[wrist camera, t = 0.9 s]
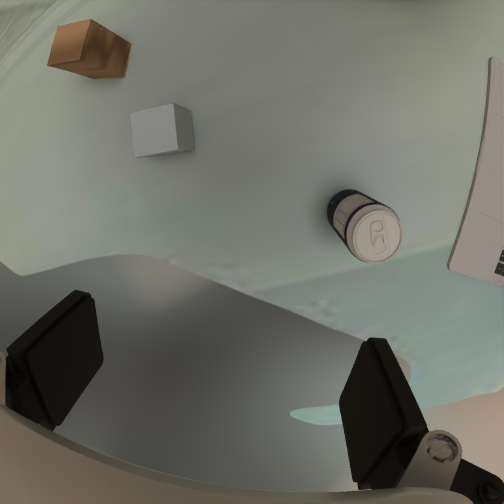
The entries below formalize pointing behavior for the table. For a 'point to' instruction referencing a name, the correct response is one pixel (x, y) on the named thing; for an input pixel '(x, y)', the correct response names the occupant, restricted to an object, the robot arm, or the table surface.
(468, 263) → the laptop
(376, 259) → the beverage can
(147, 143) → the slate block
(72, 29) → the walnut block
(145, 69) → the table surface
